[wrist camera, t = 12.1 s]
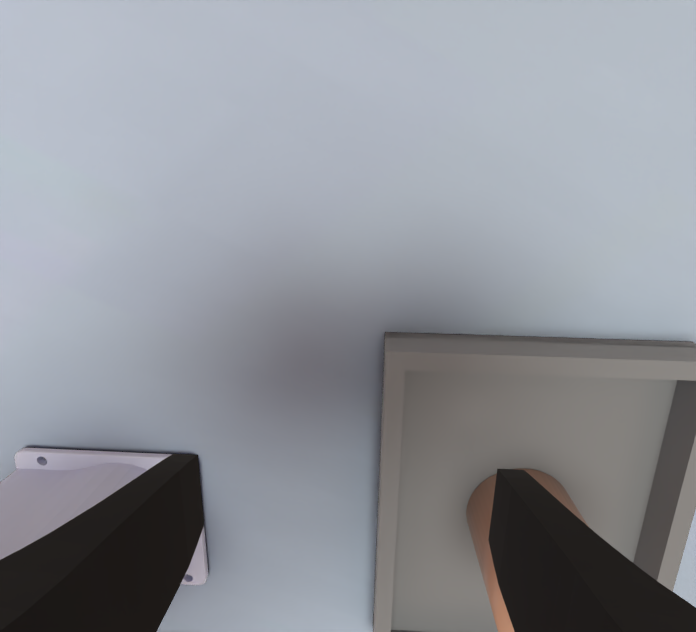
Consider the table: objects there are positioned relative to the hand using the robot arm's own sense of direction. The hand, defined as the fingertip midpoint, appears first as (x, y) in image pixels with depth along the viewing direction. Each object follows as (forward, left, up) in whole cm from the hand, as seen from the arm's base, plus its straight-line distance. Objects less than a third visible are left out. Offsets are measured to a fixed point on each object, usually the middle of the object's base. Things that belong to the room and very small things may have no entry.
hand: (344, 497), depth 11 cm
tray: (+8, -8, -10) cm, 15 cm away
